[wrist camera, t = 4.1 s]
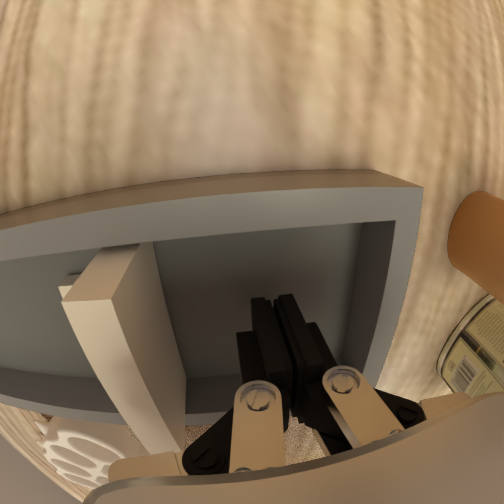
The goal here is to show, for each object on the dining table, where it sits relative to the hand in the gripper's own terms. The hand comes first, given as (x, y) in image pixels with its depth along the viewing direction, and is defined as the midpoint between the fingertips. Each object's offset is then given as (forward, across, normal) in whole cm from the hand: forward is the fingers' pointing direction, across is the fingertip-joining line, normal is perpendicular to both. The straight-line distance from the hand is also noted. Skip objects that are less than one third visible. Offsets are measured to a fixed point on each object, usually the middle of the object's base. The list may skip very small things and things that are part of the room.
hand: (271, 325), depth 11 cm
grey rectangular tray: (+3, +8, 0) cm, 9 cm away
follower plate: (+1, +7, 0) cm, 7 cm away
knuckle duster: (+3, +16, +18) cm, 25 cm away
